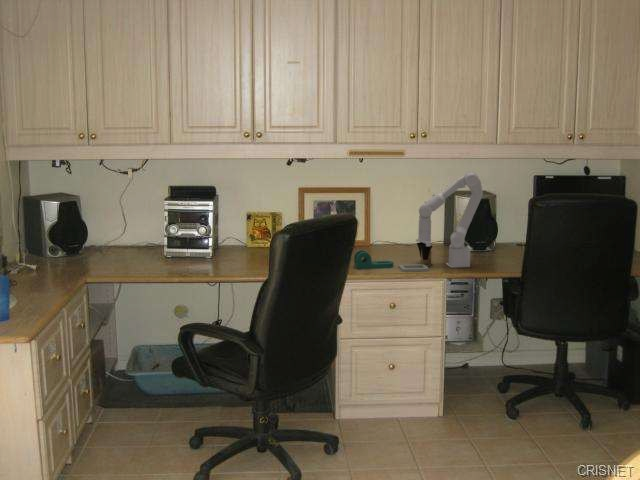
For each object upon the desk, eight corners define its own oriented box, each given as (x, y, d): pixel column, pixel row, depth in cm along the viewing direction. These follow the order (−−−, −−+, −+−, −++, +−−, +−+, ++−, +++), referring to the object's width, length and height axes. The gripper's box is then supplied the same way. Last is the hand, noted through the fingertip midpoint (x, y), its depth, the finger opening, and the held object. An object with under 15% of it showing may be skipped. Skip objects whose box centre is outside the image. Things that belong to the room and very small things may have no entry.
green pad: (428, 263, 330) (428, 262, 330) (431, 266, 324) (431, 265, 324) (416, 263, 329) (416, 262, 329) (419, 266, 323) (419, 265, 323)
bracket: (356, 269, 318) (357, 253, 317) (354, 266, 325) (354, 250, 324) (395, 268, 321) (395, 251, 320) (391, 265, 328) (391, 248, 326)
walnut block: (428, 262, 329) (429, 249, 328) (430, 264, 325) (431, 251, 324) (420, 262, 328) (421, 249, 327) (422, 264, 324) (423, 251, 323)
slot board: (423, 266, 323) (423, 264, 323) (428, 271, 314) (429, 268, 314) (398, 267, 322) (398, 264, 322) (402, 271, 313) (403, 269, 313)
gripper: (412, 227, 330) (411, 255, 333) (420, 233, 316) (419, 262, 319) (427, 227, 331) (426, 255, 334) (435, 232, 317) (434, 261, 319)
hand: (424, 258), depth 326 cm, fingers closed on walnut block, 4 cm apart
